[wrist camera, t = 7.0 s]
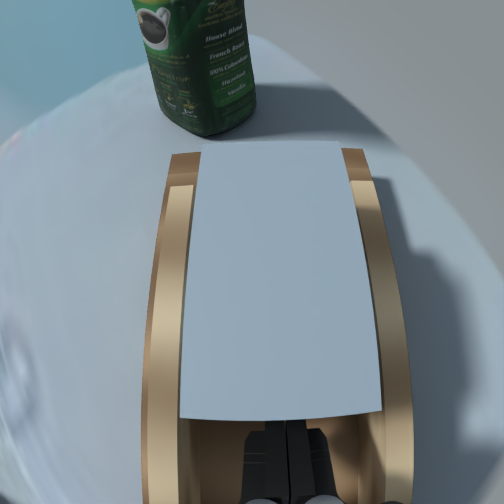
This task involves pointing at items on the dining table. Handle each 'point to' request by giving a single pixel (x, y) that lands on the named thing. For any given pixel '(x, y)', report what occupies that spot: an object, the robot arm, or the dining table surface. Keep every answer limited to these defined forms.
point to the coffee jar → (199, 61)
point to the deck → (235, 432)
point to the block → (277, 288)
